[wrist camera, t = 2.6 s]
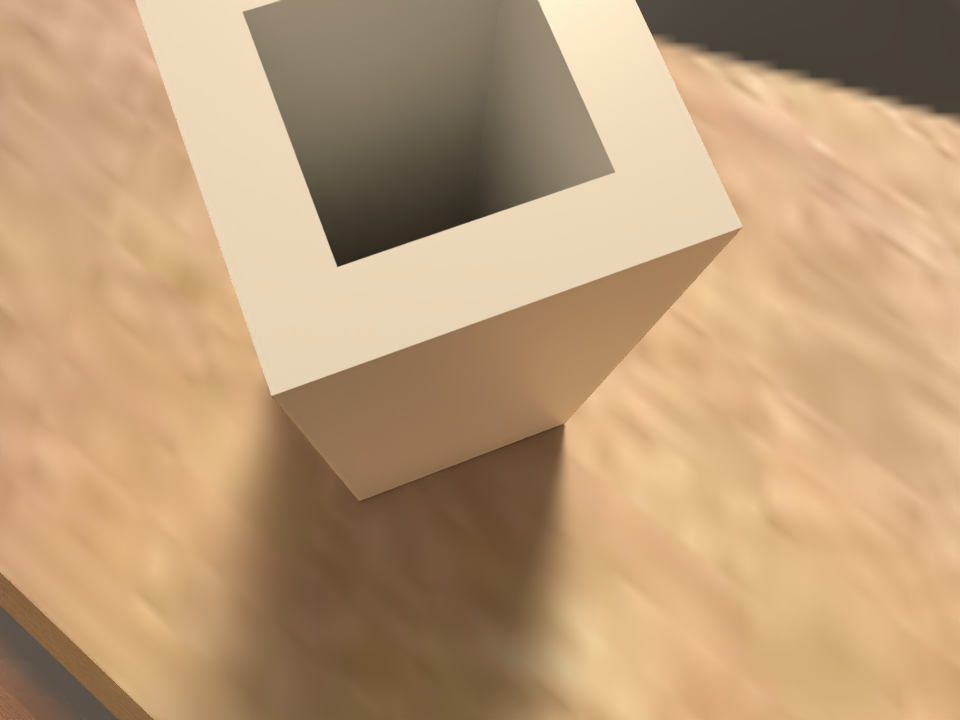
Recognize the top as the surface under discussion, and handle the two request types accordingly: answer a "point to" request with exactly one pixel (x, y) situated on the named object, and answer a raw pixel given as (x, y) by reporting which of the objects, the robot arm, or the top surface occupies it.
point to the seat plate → (51, 670)
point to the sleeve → (438, 208)
